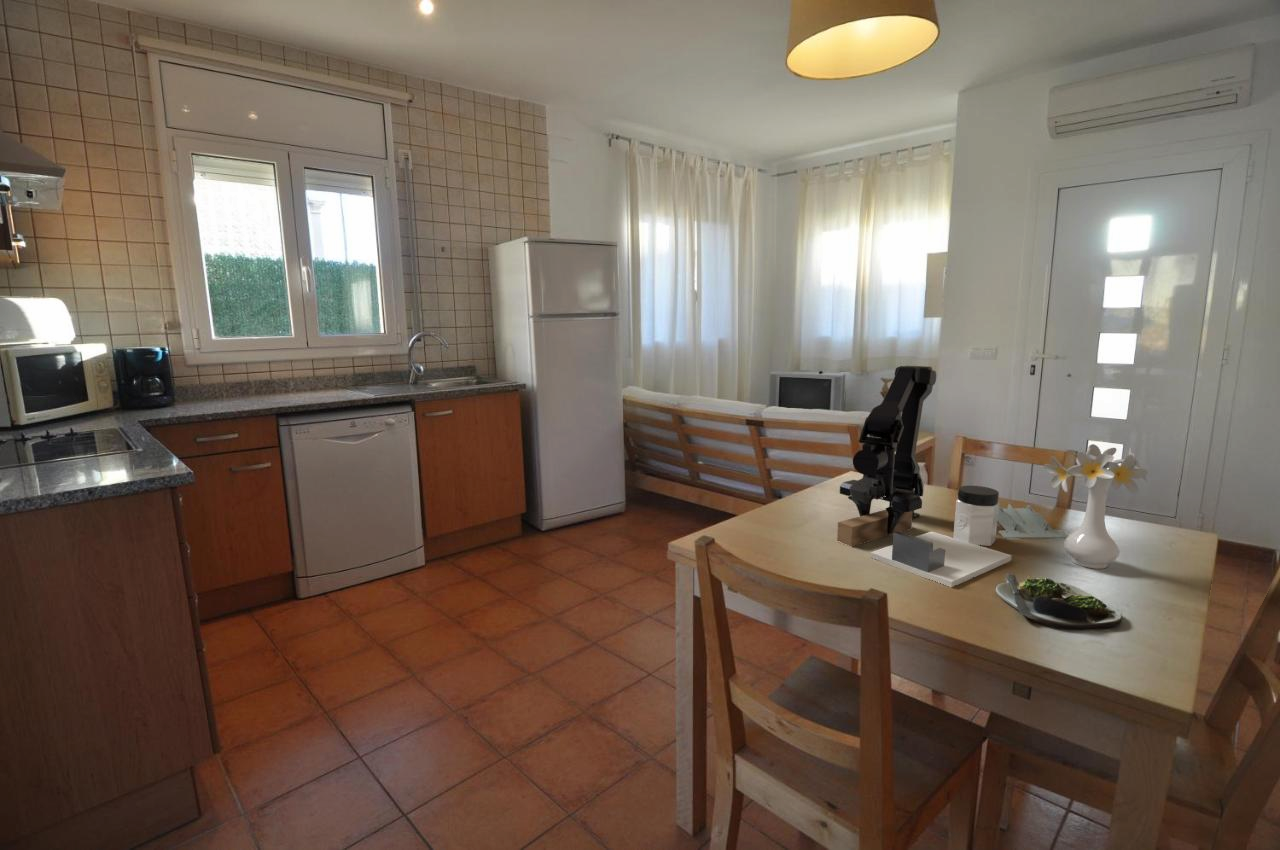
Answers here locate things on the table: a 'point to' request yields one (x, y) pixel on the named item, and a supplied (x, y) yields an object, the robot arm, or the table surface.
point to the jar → (976, 515)
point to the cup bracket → (916, 552)
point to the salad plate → (1058, 604)
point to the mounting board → (951, 559)
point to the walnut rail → (870, 527)
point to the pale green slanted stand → (1025, 524)
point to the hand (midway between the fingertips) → (877, 529)
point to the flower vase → (1096, 501)
